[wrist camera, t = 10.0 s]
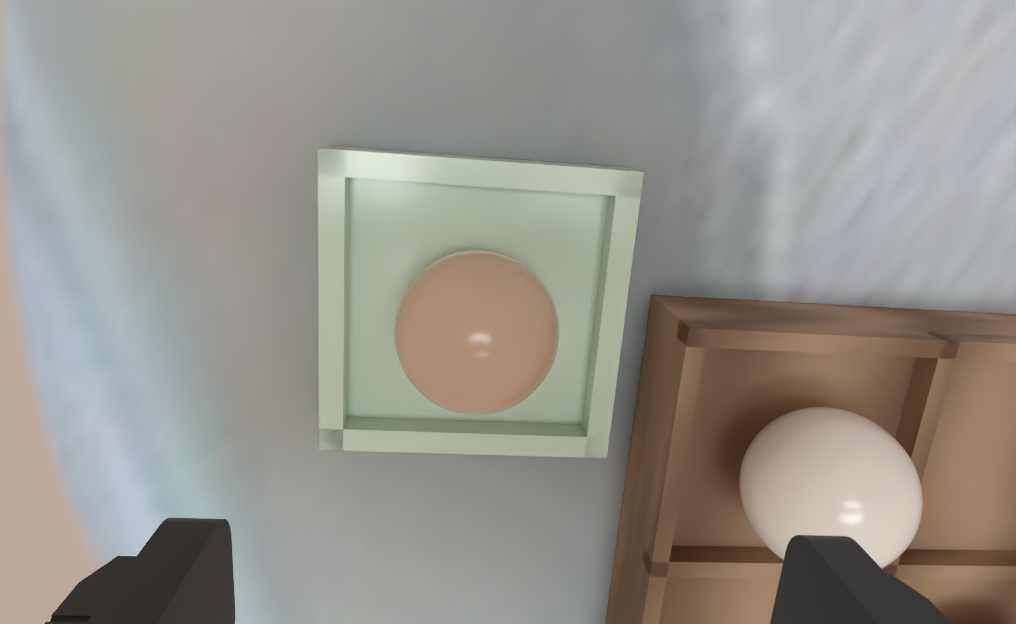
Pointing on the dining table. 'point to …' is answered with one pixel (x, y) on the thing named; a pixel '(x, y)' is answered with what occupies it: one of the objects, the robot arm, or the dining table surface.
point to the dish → (456, 228)
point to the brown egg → (476, 332)
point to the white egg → (831, 483)
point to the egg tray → (804, 384)
